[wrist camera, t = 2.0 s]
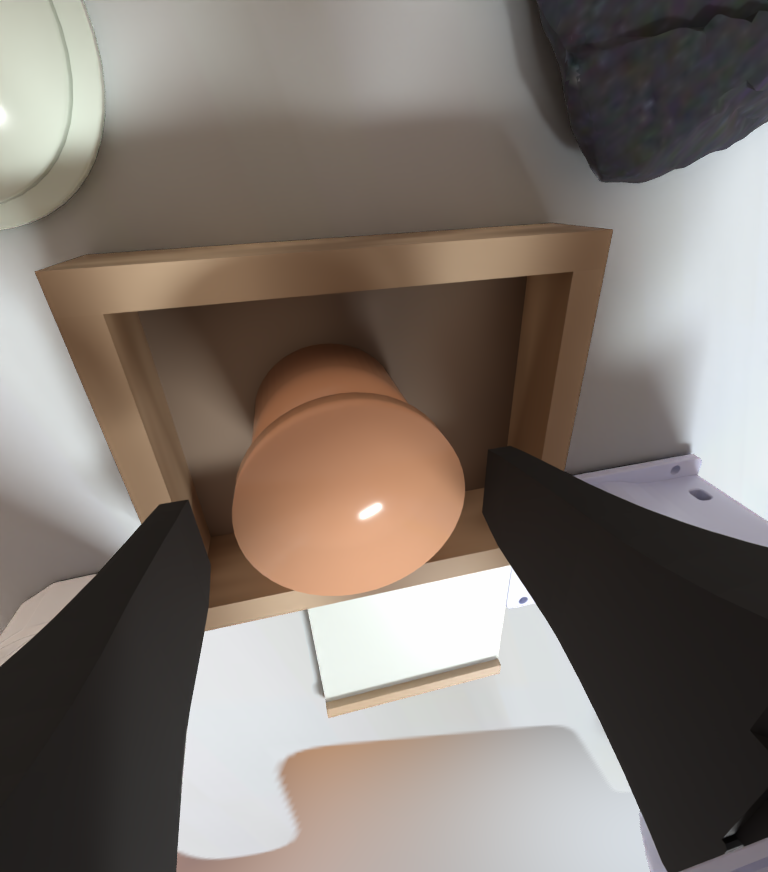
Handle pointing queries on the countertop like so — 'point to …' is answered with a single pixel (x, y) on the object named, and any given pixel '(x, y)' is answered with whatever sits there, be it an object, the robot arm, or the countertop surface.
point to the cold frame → (323, 324)
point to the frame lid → (409, 640)
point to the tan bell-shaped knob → (342, 477)
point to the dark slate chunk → (659, 79)
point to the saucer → (47, 106)
